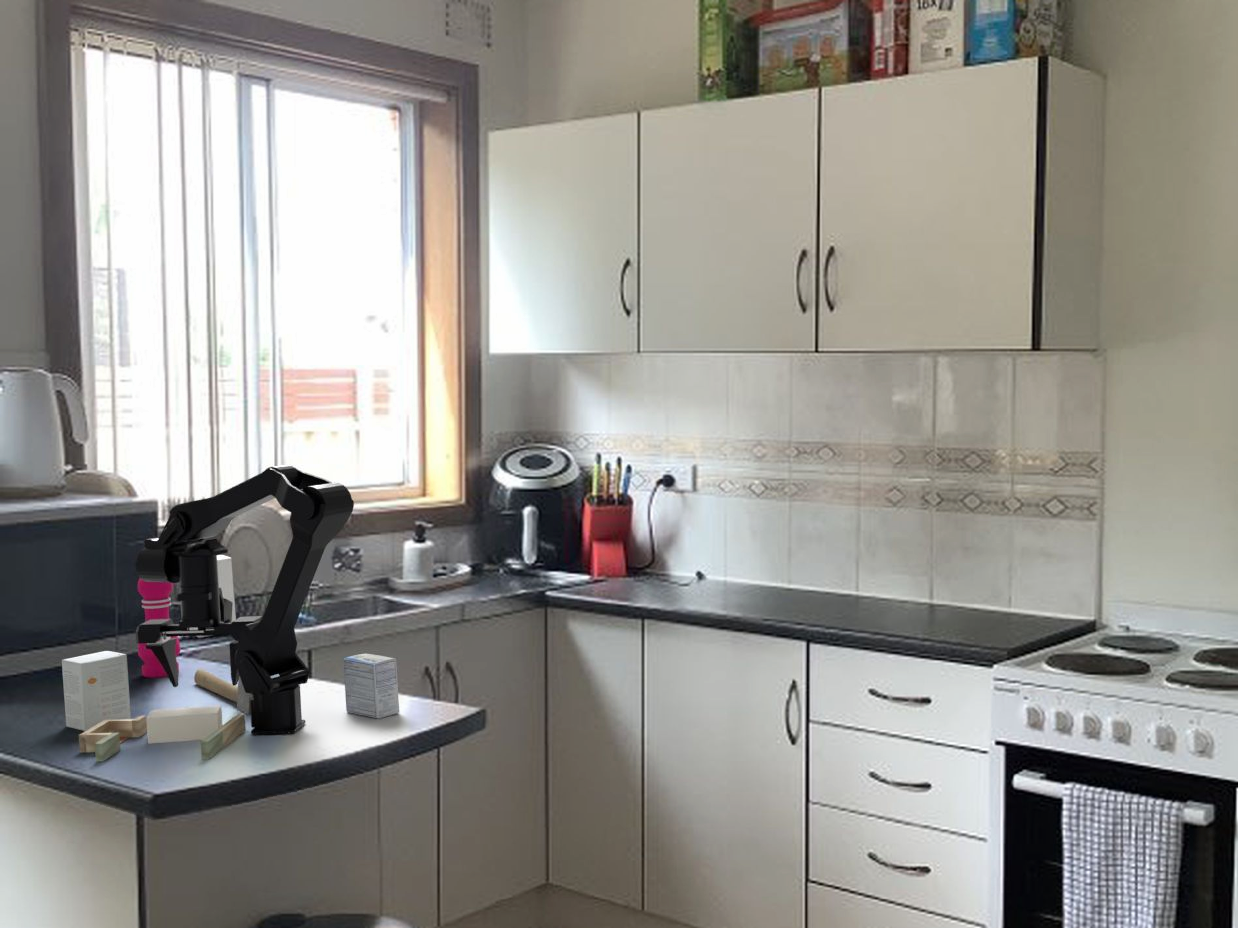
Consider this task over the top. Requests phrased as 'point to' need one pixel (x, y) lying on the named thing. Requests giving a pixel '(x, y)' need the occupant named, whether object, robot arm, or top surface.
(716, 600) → the top surface
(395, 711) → the medicine box
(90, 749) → the u-shaped wooden frame
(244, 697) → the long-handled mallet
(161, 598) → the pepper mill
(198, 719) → the cream block
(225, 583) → the skincare box
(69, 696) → the small box
